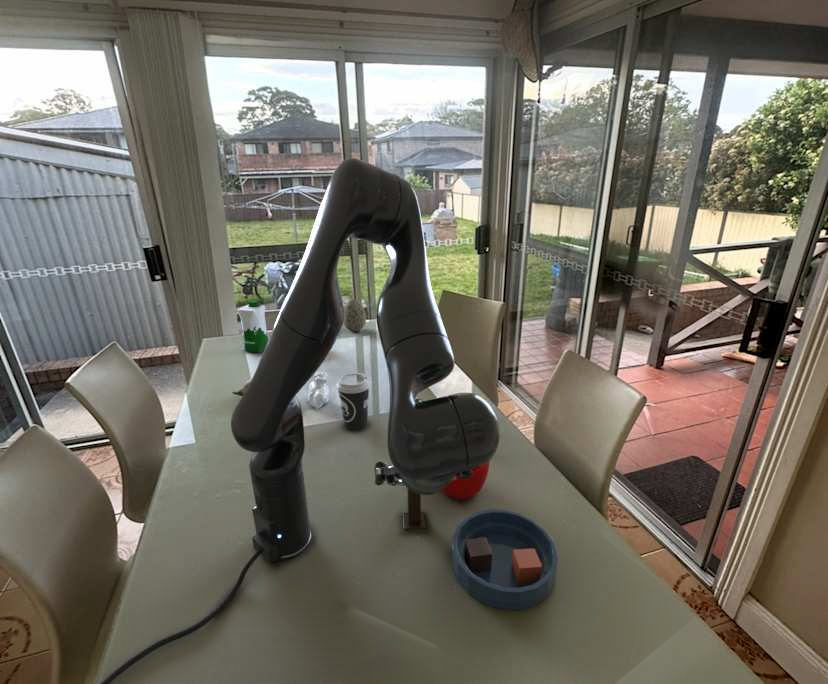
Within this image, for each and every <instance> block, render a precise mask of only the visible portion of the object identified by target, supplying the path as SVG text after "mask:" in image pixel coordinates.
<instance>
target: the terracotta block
mask: <svg viewBox="0 0 828 684" xmlns="http://www.w3.org/2000/svg"><path fill="white" fill-rule="evenodd" d="M511 567H512V569H513V572H514V575H515V578H516V581H517V584H518V585H527V584H534V583H535V582H537V581H538V579H539V578H540V576H541V573H542V565H541V562H540V560H539V558H538V555H537V553H536V551H535V548H532V549H519V550H513V556H512V566H511Z"/></svg>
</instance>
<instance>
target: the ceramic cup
mask: <svg viewBox="0 0 828 684" xmlns="http://www.w3.org/2000/svg"><path fill="white" fill-rule="evenodd" d="M490 461H491V460H490ZM490 461H489V462H488V463H486V464H484V465H482V466H479V467H477V468H474V469H472V475H471V476H470V477H469V478H468V479H466V480H463V479H461V476H456V480H454V481H451V482H450V483H449V484H448V485H447V486H445V487H444V488H443V489H442V490H441V492H443V494H444V495H446V496H448V498H451V499H453V500H463V501H464V500H467V499H470V498H472V497H473V496H475V495H477V494H478V493H479V492H480V490H481V489H482V488H483V487H484V485H485V483H486V481H487V477H488V474H489V469H490Z"/></svg>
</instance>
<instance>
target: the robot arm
mask: <svg viewBox="0 0 828 684" xmlns="http://www.w3.org/2000/svg"><path fill="white" fill-rule="evenodd" d="M418 199H419V198H418V196H417V193H416V191H415V189H414V186H412V184H411V182H409V181H408V180H407V179H405V178H403V177H401V176H400V175H398V174H395V173H393V172H391V171H389V170H386V169H383V168H382V167H380V166H377V165H374V164H371V163H370V162H367V161H364V160H362V159H359V158H357V157H348V158H346V159H344V160H342V161H341V162H340V163H339V164H338V165H337V167H336V168H335V169H334V171H333V172H332V175H331V177H330V179H329V181H328V183H327V186H326V187H325V191H324V193H323V197H322V200H321V202H320V206H319V209H318V212H317V215H316V217H315V222H314V224H313V227H312V230H311V233H310V237H309V240H308V244H307V245H306V249H305V251H304V254H303V257H302V259H301V263H300V265H299V266H298V267H299V268H298V270H297V272H296V275H295V277H294V280H293V282H292V284H291V286H290V289H289V291H288V294H287V295H286V297H285V299H284V301H283V303H282V306H281V308H280V310H279V313H278V315H277V317H276V319H275V322H274V325H273V327H272V330H271V333H270V335H269V337H268V343H267V345H266V347H265V350H263V351H262V354H261V356H260V359H259V362H258V364H257V367H256V370H255V372H254V374H253V376H252V378H251V379H252V380H251V382H250V384H249V386H248V387H247V389H246V391H245V392H244V394H243V396H240V399H239V401H238V403H237V404H236V405H235V407H234V409H233V410H232V414H231V418H230V430H231V433H232V437H233V438H234V439H233V440H234V441H235V442H236V443H237V445H238V446H239V447H241V448H242V449H243V450H244V451H248V452H251V453H252V454H251V457H250V459H249V465H248V466H249V474H250V477H251V478H250V479H251V480H250V481H251V485H252V490H253V495H254V496H253V498H254V501H255V502H254V503H255V506H254V507H253V508H252V509H251V511H252V517H253V522H254V529H255V534H254V535H252V536H251V539H252V545H253V549H255V550H256V551H255V553H254V554H252V556H251V557H250V559H248V560H247V563H245V565H244V566H243V568H242V570H241V572H240V574H239V576H238V579H237V581H236V583H235V585H234V586H233V587H232V589H231V590H230V592H229V593H228V594H227V596H226V597H225V598H224V599H223V600H222V602H221V603H220V604H219V605H218V606H217V607H216V608H215V609H214V610H213V611H211V612H210V613H209V614H207V615H206V616H205V617H204V618H202V619H201V620H200V621H198V622H197V623H195V624H193V625H191V626H190V627H187V628H185V629H183V630H180V631H178V632H174V633H173V634H171V635H168V636H166V637H164V638H161V639H159V640H157V641H156V642H154V643H152V644H150V645H149V646H148V647H146V648H144V649H143V650H141V651H139V652H138V653H137V654H135V655H134V656H133V657H131V658H129V659H128V660H127V661H125V662H124V663H123V664H121V665H120V666H119V667H118V668H116V669H115V670H114V671H113V672H111V673H110V674H109V675H108V676H107V677H106V678H105V679H104V680H102V682H100V684H112V682H113V681H114V680H115V679H116V678H118V677H119V676H120V675H121V674H122V673H124V672H125V671H126V670H127V669H128V668H130V667H131V666H132V665H134V664H135V663H137V662H138V661H140V660H141V659H143V658H144V657H146V656H147V655H149V654H150V653H152V652H154V651H155V650H157V649H159V648H160V647H162V646H164V645H166V644H169V643H172V642H173V641H176V640H178V639H181V638H183V637H185V636H188V635H189V634H192V633H193V632H195V631H197V630H199V629H200V628H202V627H203V626H205V625H206V624H207V623H209V622H210V621H211V620H213V619H214V618H215V617H216V616H217V615H218V614H219V613H221V611H222V610H224V608H225V607H226V606H227V605H228V604H229V603H230V601H231V600H232V599H233V597H234V596H235V595H236V593H237V592H238V591H239V589H240V587H241V586H242V584H243V582H244V579H245V577H246V574H247V572H248V571H249V569H250V568H251V566H252V565H253V564H254V563H255V561H256V560H257V559H258V558H259V556H260V555H261V557H263V558H264V559H265V560H266V561H267V562H269V563H273V562H274V563H275V564H277V563H279V562H280V561H281V560H287V559H291V558H294V557H297V556H299V555H300V554H301V553H303V552H304V551H305V550H306V549H307V548H308V547H309V545H310V543H311V541H312V531H311V524H310V517H309V509H308V500H307V492H306V484H305V475H304V469H303V467H304V466H303V457H304V455H305V448H306V444H305V443H306V442H305V427H304V415H303V410H302V406H301V403H300V401H299V399H298V397H297V394H298V393H299V392H300V391H301V390H302V388H303V387H304V386H305V385H306V384H307V383H308V381H310V379H311V378H313V376H314V375H315V374H316V372H318V369H319V368H320V367H321V366H322V365H323V363H324V362H325V360H327V358H328V356H329V354H330V353H331V351H332V349H333V347H334V346H335V343H336V341H337V339H338V337H339V335H340V334H341V332H342V329H343V327H344V307H345V305H344V300H343V295H342V290H341V285H340V282H339V274H338V264H339V261H340V256H341V253H342V251H343V248H344V246H345V244H346V242H347V240H348V239H349V238H352V239H353V238H354V239H357V240H360V241H363V242H367V243H371V244H374V245H379V246H382V248H383V249H384V251H385V253H386V256H387V257H388V260H389V264H390V270H389V273H388V276H387V277H386V280H385V282H384V283H383V287H382V289H381V291H380V294H379V297H378V299H377V304H376V311H375V313H376V314H375V319H376V329H377V333H378V336H379V341H380V344H381V348H382V352H383V356H384V361H385V364H386V371H387V373H388V374H387V375H388V384H389V409H388V420H387V421H388V423H387V441H386V442H387V451H388V456H389V459H390V462H391V464H392V465H389V466H388V463H385V462H383V461H378V462H375V465H374V485H376V486H381V485H384V483H385V482H386V484H387V485H389V486H392V487H394V486H405V487H406V489H407V488H408V489H409V490H411V491H412V492H414V493H417V494H420V495H421V496H431V495H434V494H437V493H439V492H440V491H441V492H442V489H443V488H444V487H445V486H447V485H448V484H449V483H450V482H451V481H454V480H456V476H461V479H463V480H466V479H468V478H469V477H470V476H471V475H472V469H474V468H477V467H479V466H482V465H484V464H486V463H488V462H489V461H491V460H493V458H494V456H495V455H496V452H497V450H498V449H499V444H500V436H501V432H500V431H501V429H500V423H499V420H498V417H497V414H496V412H495V410H494V407H492V406H491V404H490V403H489V402H488V401H487V400H486V399H485V398H484V397H482V396H480V395H478V394H476V393H473V392H458V393H457V392H456V393H452V394H448V395H445V396H440V397H437V398H435V399H431V400H426V401H422V400H421V401H419V402H415V398H416V399H417V397H416V396H417V395H418V394H419V393H420V392H421V391H423V390H424V389H426V388H428V387H429V388H430V387H432V386H434V385H437V384H438V383H441V381H444V380H446V378H448V377H449V375H451V374H452V372H453V370H454V368H455V364H456V363H455V362H456V360H455V356H454V350H453V347H452V345H451V342H450V340H449V337H448V334H447V331H446V327H445V325H444V322H443V319H442V316H441V313H440V310H439V307H438V304H437V301H436V297H435V295H434V290H433V287H432V283H431V282H432V281H431V276H430V270H429V269H430V268H429V263H428V256H427V249H426V240H425V234H424V227H423V221H422V215H421V208H420V203H419V200H418Z"/></svg>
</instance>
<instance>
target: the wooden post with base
mask: <svg viewBox="0 0 828 684" xmlns="http://www.w3.org/2000/svg"><path fill="white" fill-rule="evenodd" d="M406 491H407V492H406V493H407V494H406V496H407V497H406V498H407V512H402V521H403V523H402V524H403V531H415V530H426V529H427V524H426V517H425V516H426V515H425V512H424V511H422V510H421V509H422V507H421V502H422V501H421V499H422V498H421V496H422V495H420V494H417V493H414V492H412V491H411V490H409V489H408V488H407V487H406Z"/></svg>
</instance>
